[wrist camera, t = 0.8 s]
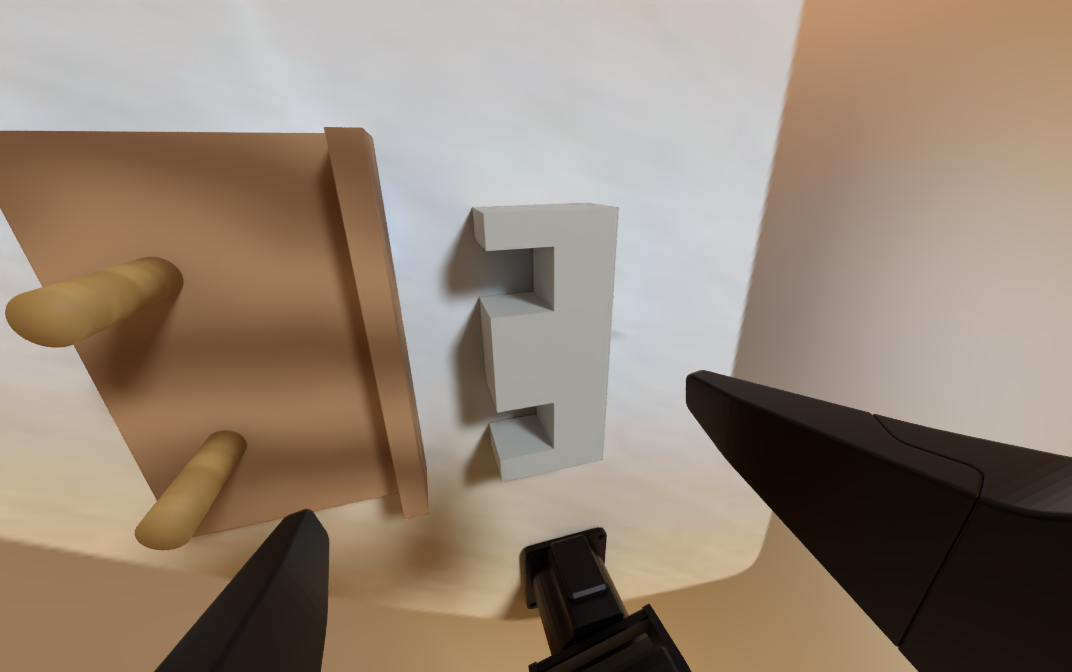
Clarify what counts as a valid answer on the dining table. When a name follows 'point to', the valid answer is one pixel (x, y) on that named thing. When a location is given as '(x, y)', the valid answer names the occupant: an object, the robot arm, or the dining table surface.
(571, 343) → the grey notched panel
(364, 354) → the board
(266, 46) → the dining table surface
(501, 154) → the dining table surface
